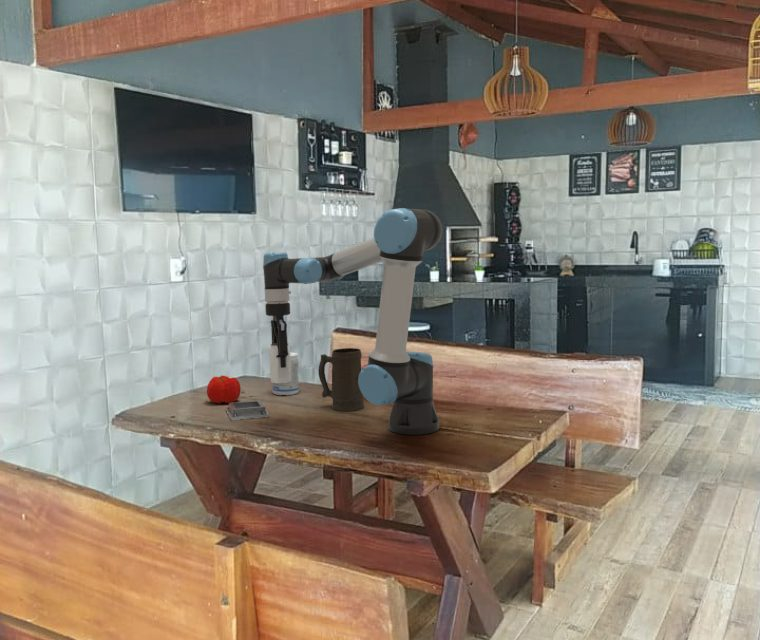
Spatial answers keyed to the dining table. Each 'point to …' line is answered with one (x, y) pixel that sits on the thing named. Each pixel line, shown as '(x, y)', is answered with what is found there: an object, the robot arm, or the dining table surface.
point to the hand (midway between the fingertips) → (281, 375)
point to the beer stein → (343, 379)
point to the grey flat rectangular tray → (246, 410)
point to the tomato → (223, 389)
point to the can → (274, 366)
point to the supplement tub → (294, 384)
